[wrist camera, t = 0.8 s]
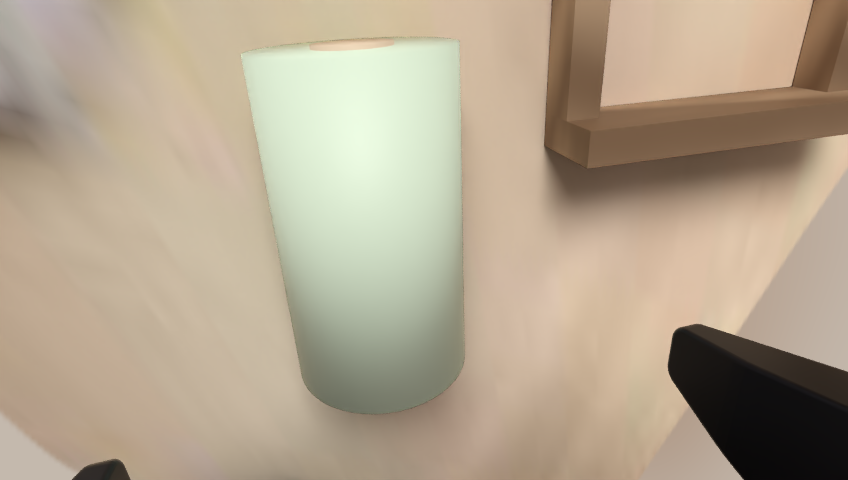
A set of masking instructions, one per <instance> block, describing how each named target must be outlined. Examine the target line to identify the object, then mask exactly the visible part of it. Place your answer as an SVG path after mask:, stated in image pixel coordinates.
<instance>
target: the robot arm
mask: <svg viewBox="0 0 848 480" xmlns="http://www.w3.org/2000/svg"><path fill="white" fill-rule="evenodd" d="M668 371H669V375H670V377H671V379H672V381H673V382H674V384H675V385H676V387H677V388H678V390H679V391H680V393H681V394H682V395H683V397H684V398H685V400H686V401H687V403H688V404H689V406H690V407H691V409H692V410H693V412H694V413H695V414H696V416H697V417H698V419H699V420H700V422H701V423H702V425H703V426H704V428H705V429H706V430H707V432H708V433H709V435H710V436H711V438H712V439H713V440H714V442H715V444H716V445H717V446H718V448H719V449H720V451H721V452H722V453H723V455H724V456H725V457H726V458H727V460H728V461H729V462H730V464H731V465H732V466H733V467H734V469H735V470H736V471H737V472H738V473H739V475H740V476H741V477H742V478H743V479H744V480H848V372H847V371H844V370H841V369H838V368H834V367H831V366H828V365H825V364H822V363H819V362H816V361H813V360H810V359H806V358H804V357H800V356H797V355H794V354H791V353H788V352H785V351H782V350H779V349H776V348H773V347H769V346H766V345H763V344H760V343H757V342H754V341H751V340H748V339H744V338H742V337H739V336H735V335H732V334H729V333H726V332H723V331H720V330H717V329H714V328H711V327H708V326H704V325H701V324H693V325H689V326H684V327H680V328H678V329H676V330H675V332H674V333H673V337H672V342H671V348H670V354H669V360H668ZM72 480H130V477H129V475H128V473H127V470H126V468H125V466H124V464H123V463H122V462H121V461H120V460H118V459H111V460H107V461H103V462H99V463H94V464H91V465H88V466H86V467H84V468H83V469H82V470H81V471H80V472H79V473H78V474H77V475H76V476H75V477H74V478H73V479H72Z"/></svg>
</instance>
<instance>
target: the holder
mask: <svg viewBox="0 0 848 480" xmlns="http://www.w3.org/2000/svg"><path fill="white" fill-rule="evenodd" d="M610 3H611V0H552V15H551V34H550V52H549V70H548V88H547V106H546V124H545V142H544V146H546V147H548V148H550V149H552V150H553V151H555V152H557V153H559V154H561V155H563V156H565V157H566V158H568V159H570V160H572V161H574V162H576V163H578V164H579V165H581V166H583V167H585V168H587V169H589V168H596V167H604V166H611V165H619V164H626V163H634V162H641V161H649V160H656V159H664V158H671V157H679V156H686V155H694V154H701V153H709V152H716V151H724V150H731V149H739V148H746V147H754V146H761V145H769V144H776V143H784V142H791V141H799V140H806V139H814V138H821V137H829V136H836V135H844V134H848V0H814V3H813V7H812V11H811V15H810V19H809V23H808V27H807V31H806V35H805V38H804V42H803V46H802V50H801V54H800V58H799V62H798V66H797V70H796V74H795V78H794V82H793V85H792V87H784V88H775V89H766V90H756V91H747V92H737V93H728V94H719V95H709V96H700V97H690V98H681V99H672V100H662V101H653V102H643V103H634V104H625V105H615V106H606V107H600V103H601V93H602V83H603V73H604V63H605V53H606V43H607V33H608V23H609V13H610Z"/></svg>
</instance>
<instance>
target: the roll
mask: <svg viewBox="0 0 848 480" xmlns="http://www.w3.org/2000/svg"><path fill="white" fill-rule="evenodd" d="M241 59H242V64H243V69H244V75H245V80H246V85H247V90H248V96H249V101H250V106H251V111H252V117H253V122H254V127H255V132H256V138H257V143H258V148H259V153H260V159H261V164H262V169H263V174H264V180H265V185H266V190H267V195H268V201H269V206H270V211H271V216H272V222H273V227H274V232H275V237H276V243H277V248H278V253H279V258H280V264H281V269H282V274H283V279H284V285H285V290H286V295H287V300H288V306H289V311H290V316H291V321H292V327H293V332H294V337H295V342H296V348H297V353H298V358H299V363H300V369H301V374H302V378H303V381H304V383H305V385H306V387H307V388H308V390H309V391H310V392H311V393H312V394H313V395H314V396H315V397H316V398H318V399H319V400H320V401H322V402H324V403H326V404H327V405H329V406H331V407H334V408H337V409H340V410H343V411H348V412H352V413H360V414H384V413H392V412H398V411H402V410H406V409H410V408H413V407H416V406H418V405H421V404H423V403H425V402H427V401H429V400H431V399H433V398H435V397H436V396H438V395H439V394H441V393H442V392H443V391H445V390H446V389H447V388H448V387H449V386H450V385H451V384H452V383H453V382H454V381H455V380H456V378H457V377H458V375H459V373H460V371H461V369H462V367H463V363H464V356H465V348H464V286H463V224H462V162H461V100H460V41H459V40H456V39H451V38H440V37H382V38H361V39H346V40H332V41H317V42H306V43H297V44H288V45H280V46H273V47H266V48H260V49H255V50H251V51H247V52H244V53H242V54H241Z"/></svg>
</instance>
